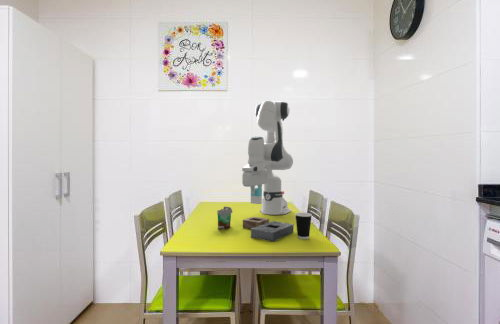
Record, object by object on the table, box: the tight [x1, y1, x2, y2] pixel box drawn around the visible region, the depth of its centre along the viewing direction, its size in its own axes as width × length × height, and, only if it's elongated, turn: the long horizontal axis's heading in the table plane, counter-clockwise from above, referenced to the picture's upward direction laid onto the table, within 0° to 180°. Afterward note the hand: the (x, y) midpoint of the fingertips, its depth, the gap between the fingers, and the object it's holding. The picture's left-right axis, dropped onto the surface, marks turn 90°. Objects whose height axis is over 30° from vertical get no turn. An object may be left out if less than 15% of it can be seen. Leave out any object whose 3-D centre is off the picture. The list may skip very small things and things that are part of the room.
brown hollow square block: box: [242, 216, 270, 230], centre depth 164 cm, size 10×10×4 cm
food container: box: [216, 206, 233, 230], centre depth 162 cm, size 12×6×10 cm, turn 168°
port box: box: [250, 220, 295, 242], centre depth 149 cm, size 20×12×4 cm, turn 146°
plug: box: [250, 187, 263, 205], centre depth 163 cm, size 3×5×8 cm, turn 56°
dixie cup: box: [294, 212, 313, 240], centre depth 144 cm, size 8×8×11 cm
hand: (256, 193), depth 163 cm, fingers closed on plug, 3 cm apart
